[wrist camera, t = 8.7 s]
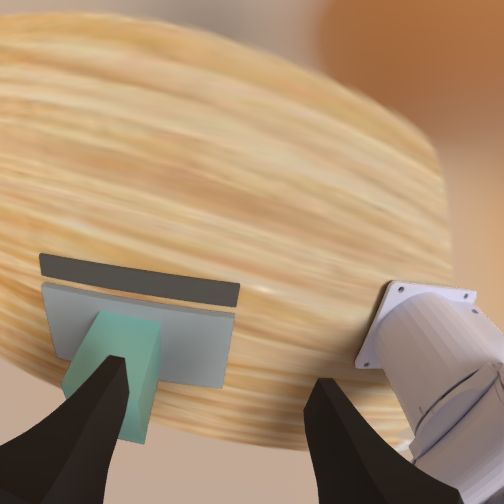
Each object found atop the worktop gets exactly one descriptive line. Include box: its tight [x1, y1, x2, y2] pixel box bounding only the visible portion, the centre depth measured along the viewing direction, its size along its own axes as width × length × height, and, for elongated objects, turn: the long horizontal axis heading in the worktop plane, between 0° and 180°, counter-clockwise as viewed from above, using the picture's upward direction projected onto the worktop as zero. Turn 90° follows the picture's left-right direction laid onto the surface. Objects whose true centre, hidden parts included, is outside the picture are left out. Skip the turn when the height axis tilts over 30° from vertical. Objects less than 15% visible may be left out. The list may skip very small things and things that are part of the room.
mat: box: [41, 282, 235, 389], centre depth 21 cm, size 14×7×1 cm, turn 80°
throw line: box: [39, 253, 240, 307], centre depth 19 cm, size 14×2×1 cm, turn 80°
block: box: [61, 311, 161, 444], centre depth 17 cm, size 4×4×7 cm
